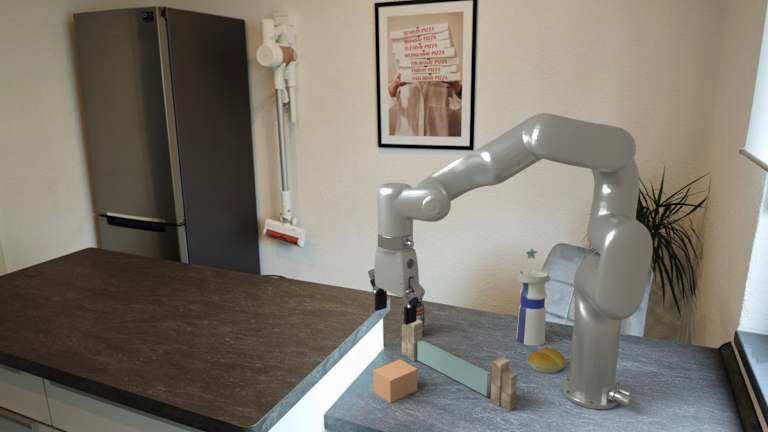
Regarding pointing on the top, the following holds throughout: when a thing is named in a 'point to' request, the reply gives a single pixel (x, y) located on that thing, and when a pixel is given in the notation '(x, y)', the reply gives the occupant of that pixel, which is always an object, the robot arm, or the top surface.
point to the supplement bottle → (419, 313)
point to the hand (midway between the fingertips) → (395, 315)
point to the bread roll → (546, 360)
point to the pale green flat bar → (455, 367)
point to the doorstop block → (395, 380)
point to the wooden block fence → (501, 375)
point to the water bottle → (532, 306)
